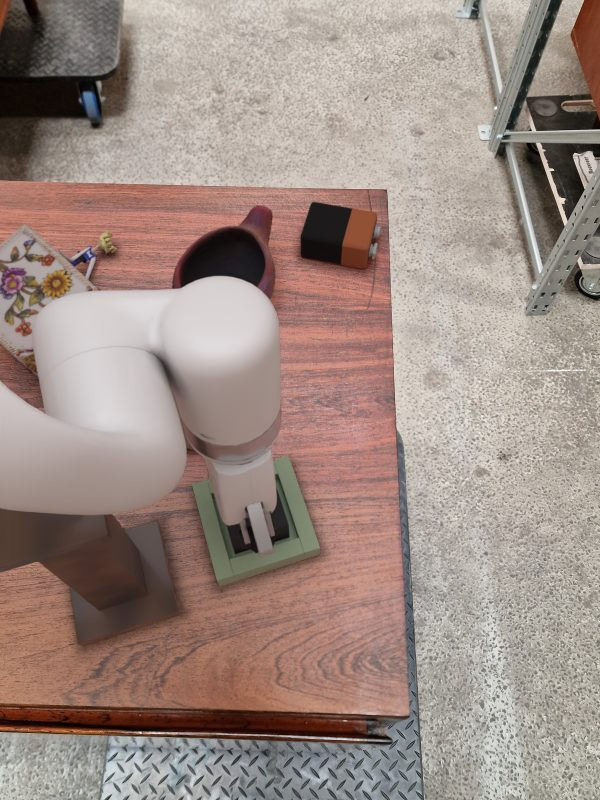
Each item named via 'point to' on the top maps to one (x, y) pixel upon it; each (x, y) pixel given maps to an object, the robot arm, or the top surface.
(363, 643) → the top surface
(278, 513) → the black pad
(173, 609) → the stand
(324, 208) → the battery
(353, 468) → the top surface
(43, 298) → the floral vase
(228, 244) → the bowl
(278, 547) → the base pad
